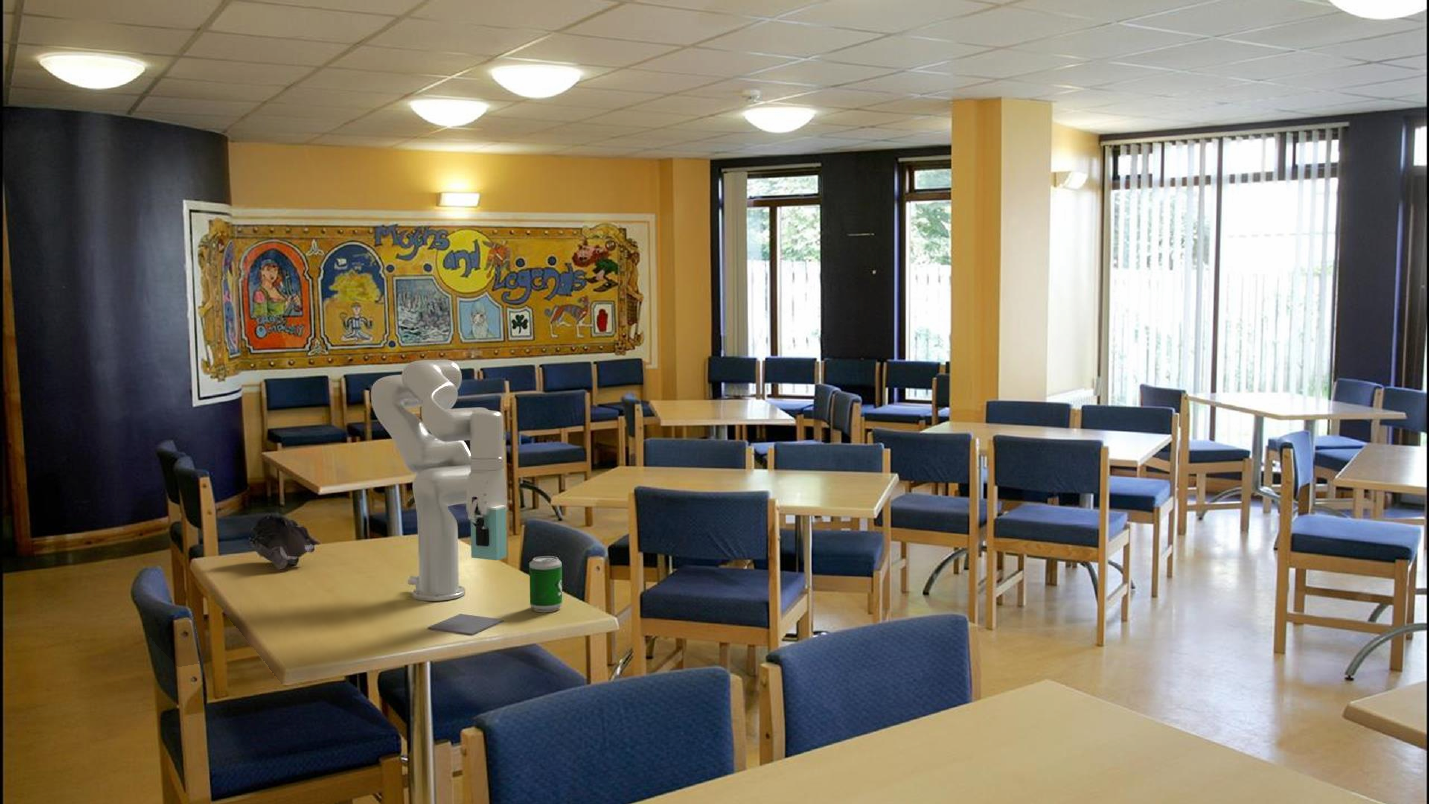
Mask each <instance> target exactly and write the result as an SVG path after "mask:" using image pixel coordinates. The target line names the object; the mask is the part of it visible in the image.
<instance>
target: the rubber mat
mask: <svg viewBox="0 0 1429 804" xmlns="http://www.w3.org/2000/svg"><path fill="white" fill-rule="evenodd" d="M503 622H505V619H502V618H494V617H487V616H480V615H475V614H466V613H465V614H463V613H459V614H457V615H455V616H451V617H449V618H447V619H445V620H441V621H439V622H437V623H435V624H432V625H430V626H427V630H433V631H440V632H446V633H447V632H448V633H455V634H460V635H461V634H462V635H468V636H474V635H477V634H479V633H481V632H483V631H485V630H488V629H489V628H490V629H491V628H492V627H495V626H497V625H499V624H501V623H503Z"/></svg>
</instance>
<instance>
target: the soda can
mask: <svg viewBox="0 0 1429 804" xmlns="http://www.w3.org/2000/svg"><path fill="white" fill-rule="evenodd" d="M528 566H529V568H528V569H529V605H530V608H532V609H533V611H535V612H538V613H551V612H556V611H558V610H559V609H560V607H561V606H562V605H563V574H562V573H563V572H562V571H563V567H562V566H563V565H562V561H561V560H560V559H559V558H558V557H557V556H553V555H552V556H550V555H546V556H545V555H544V556H536V557H534V558H533V559H532V561H530V562H529V565H528Z"/></svg>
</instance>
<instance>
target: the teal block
mask: <svg viewBox="0 0 1429 804" xmlns="http://www.w3.org/2000/svg"><path fill="white" fill-rule="evenodd" d="M480 513H481V512H479V515H481V514H480ZM480 519H481V521H482V522H483V518H480ZM487 529H489V546H477V545H476V529H475V528H474V524H473V523H472V522H471V521H470V545H471V546H470V547H471V548H470V550H471V551H470V552H471V554H470V555H471V556H470V557H471V559H479V560H489V561H500V560H502V559H505V558H507V557H508V545H507V543H508V542H507V541H508V540H507V539H508V538H507V537H508V536H507V511H506V505H500V506H496V507H492V508H491V512H490V515H488V521H487Z"/></svg>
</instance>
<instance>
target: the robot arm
mask: <svg viewBox="0 0 1429 804" xmlns="http://www.w3.org/2000/svg"><path fill="white" fill-rule="evenodd" d="M401 372H402V373H401V374H393V375H392V374H391V375H388V376H382V377H381V378H378V379H377V380H376V381H375V382H374V383H373V385H372V387H371V391H370V400H371V404H372V405H371V406H372V410H373V412H374V414H375V416H376V418H377V419H378V421H379V422H380V424H381V425H382V427H383V428H384V429H385V430H386V432H387V433H388V434H389V436H390V437H391V439H392V440H393V442H394V445H395V447H396V448H397V451H398V453H399V454H400V457H401V459H402V461H403V462H404V465H405V466H406V468H407V469H408V471H409V472H410V473H412V474H415V476H414V478H413V481H412V493H413V497H414V498H413V499H414V504H415V508H416V518H417V519H416V520H417V544H418V545H417V546H418V547H417V548H418V549H417V550H418V553H417V555H418V575H415V574H412V575H410V577H409V579H408V580H407V584H408V585H410V586H411V585H412V586H415V589H414V590H413V591H412V597H413V598H414V599H416V600H420V601H427V602H428V601H429V602H438V601H439V602H440V601H450V600H455V599H458V598H460V597H463V596H465V594H466V588H465V587H464V586H463V585H462V586H461V585H460V582H459V578H460V577H459V573H460V572H459V532H458V531H459V530H458V528H459V527H458V522H457V519H456V518H455V516H454V515H453V514H452V512H451V511H450V509H449V507H450V506H455V505H462V504H465V505H466V506H465V507H466V510H465V511H466V513H467V515H468V516H467V519H468V520H469V521H470V523H471V522H472V523H473V524H474V528H475V529H476V545H477V546H489V529H487V521H488V515H490V512H491V508H492V507H496V506H500V505H506V512H507V511H508V506H507V505H508V495H507V494H508V493H507V490H508V489H507V481H506V473H505V450H504V449H505V448H504V416H503V414H502V413H501V412H500V411H498V410H489V409H488V408H486V407H461V408H460V407H459V408H453V407H454V405H455V404H456V402H457V401H458V395H459V393H458V391H459V389H460V388H461V385H462V380H463V379H462V378H463V376H462V371H461V369H460V367H459V365H458V364H457V363H455V362H454V361H453V360H450V359H421V360H414V361H412V362H410V363H408V364H406V366H405V367H404V368H403V370H402V371H401ZM420 407H421V410H420V411H421V419H420V418H419V417H418V416H416V414H414V413H412V412H410V411H409V410H407V409H406V408H420ZM465 441H469V447H470V448H469V447H468V445H467V444H466V442H465ZM479 512H481V513H480V514H481V515H479ZM480 518H483V522H482V521H481V519H480Z"/></svg>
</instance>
